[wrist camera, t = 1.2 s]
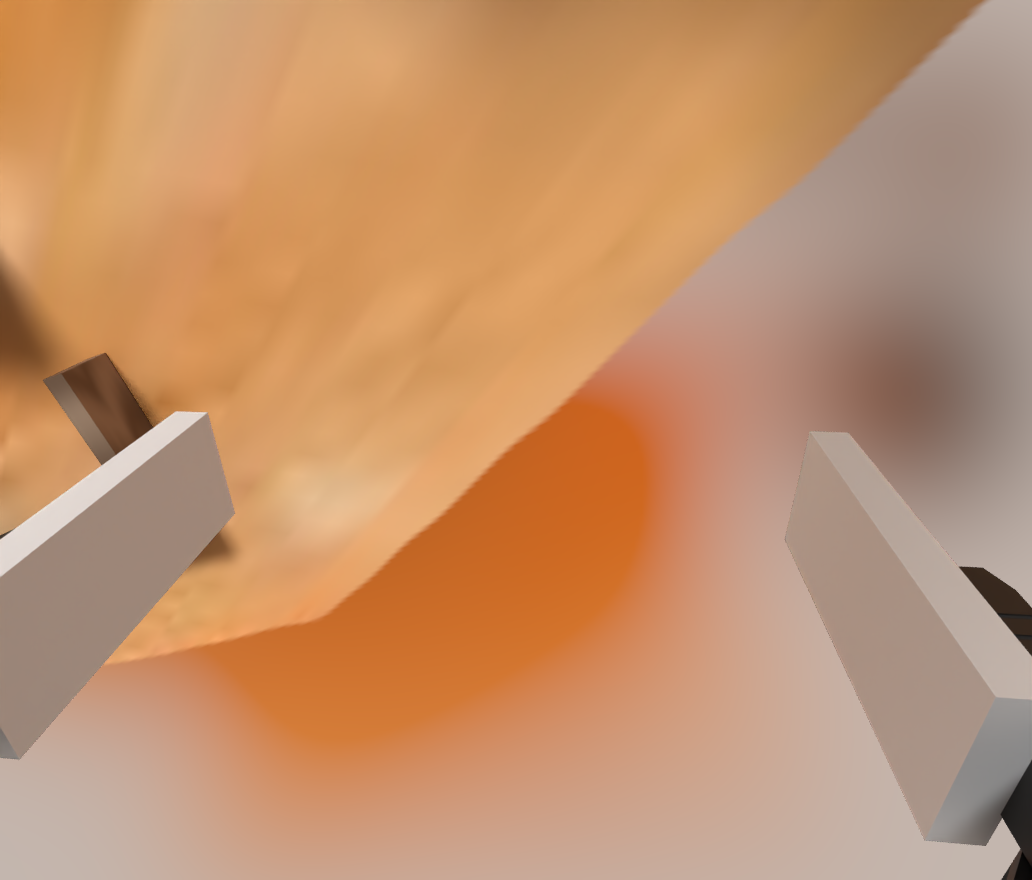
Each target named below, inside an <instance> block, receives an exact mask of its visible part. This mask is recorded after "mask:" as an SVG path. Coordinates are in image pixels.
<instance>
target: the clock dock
mask: <svg viewBox="0 0 1032 880" xmlns="http://www.w3.org/2000/svg"><path fill="white" fill-rule="evenodd" d="M43 381H44V383H45V384H46V386H47V387H48V388H49V390H50V391H51V393H52V394H53V396H54V397H55V399H56V400H57V401H58V403H59V404H60V406H61V407H62V409H63V410H64V411H65V413H66V414H67V416H68V417H69V419H70V420H71V422H72V423H73V424H74V426H75V427H76V429H77V430H78V432H79V433H80V435H81V436H82V437H83V439H84V440H85V442H86V443H87V445H88V446H89V448H90V449H91V450H92V452H93V453H94V455H95V456H96V458H97V459H98V461H99V462H100V463H101V465H103V464H105V463H106V462H107V461H109V460H110V459H111V458H113V457H114V456H115V455H117V454H118V453H120V452H121V451H122V450H124V449H125V448H126V447H128V446H129V445H131V444H132V443H133V442H135V441H136V440H137V439H139V438H140V437H142V436H143V435H144V434H146V433H147V432H148V431H150V430H151V429H152V428H153V427H152V426H151V424H150V423H149V421H148V419H147V418H146V416H145V415H144V413H143V412H142V410H141V408H140V407H139V405H138V404H137V402H136V401H135V399H134V397H133V396H132V394H131V393H130V391H129V390H128V388H127V386H126V385H125V383H124V382H123V380H122V378H121V377H120V375H119V374H118V372H117V371H116V369H115V367H114V366H113V364H112V363H111V361H110V360H109V358H108V356H107V355H106V353H103V354H100V355H97V356H95V357H92V358H89V359H86V360H84V361H82V362H80V363H78V364H76V365H74V366H72V367H69V368H67V369H65V370H63V371H61V372H59V373H57V374H55V375H52V376H50V377H48V378H46V379H44V380H43Z"/></svg>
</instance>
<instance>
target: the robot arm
mask: <svg viewBox="0 0 1032 880" xmlns="http://www.w3.org/2000/svg"><path fill="white" fill-rule="evenodd" d="M234 514H235V512H234V508H233V504H232V501H231V497H230V493H229V490H228V486H227V482H226V479H225V475H224V471H223V467H222V464H221V460H220V456H219V453H218V449H217V445H216V442H215V438H214V434H213V431H212V427H211V423H210V419H209V416H208V413H207V412H174V413H173V414H172V415H170V416H169V417H168V418H166V419H165V420H163V421H162V422H161V423H159V424H158V425H157V426H155V427H154V428H152V429H151V430H150V431H148V432H147V433H146V434H144V435H143V436H142V437H140V438H139V439H137V440H136V441H135V442H133V443H132V444H131V445H129V446H128V447H126V448H125V449H124V450H122V451H121V452H120V453H118V454H117V455H115V456H114V457H113V458H111V459H110V460H109V461H107V462H106V463H105V464H103V465H102V466H100V467H99V468H98V469H96V470H95V471H94V472H92V473H91V474H89V475H88V476H87V477H85V478H84V479H83V480H81V481H80V482H78V483H77V484H76V485H74V486H73V487H72V488H70V489H69V490H67V491H66V492H65V493H63V494H62V495H61V496H59V497H58V498H57V499H55V500H54V501H52V502H51V503H50V504H48V505H47V506H46V507H44V508H43V509H41V510H40V511H39V512H37V513H36V514H35V515H33V516H32V517H30V518H29V519H28V520H26V521H25V522H24V523H22V524H21V525H20V526H18V527H17V528H15V529H13V530H11V531H9V532H7V533H5V534H3V535H0V758H10V759H21V757H22V756H23V755H24V754H25V753H26V752H27V750H28V749H29V748H30V747H31V746H32V745H33V744H34V742H35V741H36V740H37V739H38V738H39V737H40V736H41V734H42V733H43V732H44V731H45V730H46V728H48V727H49V725H50V724H51V723H52V722H53V721H54V720H55V718H56V717H57V716H58V715H59V714H60V713H61V712H62V711H63V709H64V708H65V707H66V706H67V705H68V704H69V703H70V701H71V700H72V699H73V698H74V697H75V696H76V695H77V693H78V692H79V691H80V690H81V689H82V688H83V687H84V685H85V684H86V683H87V682H88V681H89V680H90V678H91V677H92V676H93V675H94V674H95V673H96V672H97V670H98V669H99V668H100V667H101V666H102V665H103V664H104V663H105V661H106V660H107V659H108V658H109V657H110V656H111V655H112V653H113V652H114V651H115V650H116V649H117V648H118V647H119V645H120V644H121V643H122V642H123V641H124V640H125V639H126V637H127V636H128V635H129V634H130V633H131V632H132V631H133V629H134V628H135V627H136V626H137V625H138V624H139V623H140V621H141V620H142V619H143V618H144V617H145V616H146V615H147V613H148V612H149V611H150V610H151V609H152V608H153V607H154V605H155V604H156V603H157V602H158V601H159V600H160V599H161V597H162V596H163V595H164V594H165V593H166V592H167V591H168V589H169V588H170V587H171V586H172V585H173V584H174V583H175V581H176V580H177V579H178V578H179V577H180V576H181V575H182V573H183V572H184V571H185V570H186V569H187V568H188V567H189V565H190V564H191V563H192V562H193V561H194V560H195V559H196V557H197V556H198V555H199V554H200V553H201V552H202V551H203V549H204V548H205V547H206V546H207V545H208V544H209V543H210V541H211V540H212V539H213V538H214V537H215V536H216V535H217V533H218V532H219V531H220V530H221V529H222V528H223V527H224V525H225V524H226V523H227V522H228V521H229V520H230V519H231V517H232V516H233V515H234ZM785 541H786V543H787V545H788V548H789V550H790V552H791V554H792V556H793V558H794V560H795V562H796V565H797V567H798V569H799V571H800V573H801V576H802V578H803V580H804V582H805V584H806V586H807V588H808V591H809V592H810V595H811V597H812V599H813V601H814V603H815V606H816V608H817V610H818V612H819V614H820V616H821V619H822V621H823V623H824V625H825V627H826V629H827V631H828V634H829V636H830V638H831V640H832V642H833V644H834V647H835V649H836V651H837V653H838V655H839V657H840V659H841V661H842V664H843V666H844V668H845V670H846V672H847V674H848V677H849V679H850V681H851V683H852V685H853V687H854V690H855V692H856V694H857V696H858V698H859V700H860V702H861V704H862V707H863V709H864V711H865V713H866V715H867V718H868V720H869V722H870V724H871V726H872V728H873V730H874V732H875V734H876V737H877V739H878V741H879V743H880V745H881V748H882V750H883V752H884V754H885V756H886V758H887V760H888V763H889V765H890V767H891V769H892V771H893V773H894V776H895V778H896V780H897V782H898V784H899V786H900V788H901V791H902V793H903V795H904V797H905V799H906V801H907V803H908V806H909V808H910V810H911V812H912V814H913V816H914V819H915V821H916V823H917V825H918V827H919V829H920V832H921V834H922V836H923V838H924V840H926V841H937V842H948V843H960V844H970V845H982V846H986V845H987V843H988V841H989V839H990V838H991V836H992V834H993V833H994V831H995V829H996V827H997V826H998V824H999V822H1000V821H1001V819H1002V818H1003V820H1004V821H1005V823H1006V825H1007V826H1008V828H1009V830H1010V831H1011V833H1012V835H1013V837H1014V838H1015V840H1016V842H1017V843H1018V845H1019V847H1020V848H1021V849H1020V851H1019V852H1018V854H1017V856H1016V857H1015V859H1014V860H1013V862H1012V864H1011V865H1010V867H1009V869H1008V870H1007V872H1006V873H1005V875H1004V876H1003V878H1002V880H1032V608H1031V607H1030V605H1029V604H1028V603H1027V602H1026V601H1025V600H1024V599H1023V598H1022V596H1020V594H1019V593H1018V592H1017V591H1016V590H1015V589H1013V588H1012V587H1010V586H1009V585H1007V584H1006V583H1004V582H1003V581H1001V580H1000V579H998V578H997V577H996V576H994V575H993V574H991V573H990V572H988V571H987V570H985V569H984V568H977V567H958V566H957V564H956V563H955V562H954V561H953V560H952V558H951V557H950V556H949V555H948V553H947V552H946V551H945V550H944V549H943V547H942V546H941V545H940V544H939V543H938V541H937V540H936V539H935V538H934V536H933V535H932V534H931V533H930V532H929V531H928V529H927V528H926V527H925V525H924V524H923V523H922V522H921V521H920V519H919V518H918V517H917V516H916V514H915V513H914V512H913V511H912V510H911V508H910V507H909V506H908V505H907V503H906V502H905V501H904V500H903V499H902V497H901V496H900V495H899V494H898V492H897V491H896V490H895V489H894V488H893V486H892V485H891V484H890V483H889V481H888V480H887V479H886V478H885V477H884V476H883V474H882V473H881V472H880V470H879V469H878V468H877V467H876V466H875V464H874V463H873V462H872V461H871V460H870V458H869V457H868V456H867V455H866V453H865V452H864V451H863V450H862V449H861V447H860V446H859V445H858V444H857V442H856V441H855V440H854V439H853V438H852V437H851V435H850V434H849V433H848V432H817V431H810V432H809V436H808V441H807V445H806V449H805V453H804V458H803V462H802V467H801V471H800V475H799V479H798V484H797V488H796V492H795V497H794V501H793V505H792V510H791V515H790V519H789V523H788V527H787V531H786V536H785Z"/></svg>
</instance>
